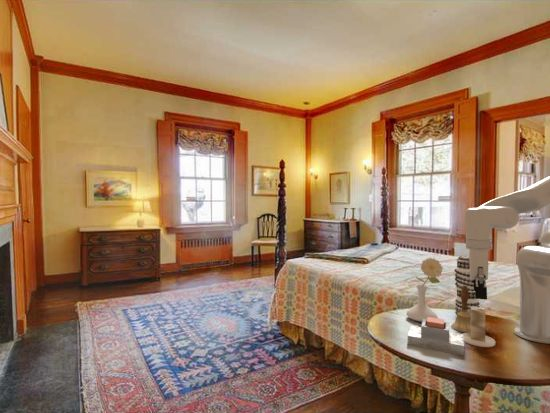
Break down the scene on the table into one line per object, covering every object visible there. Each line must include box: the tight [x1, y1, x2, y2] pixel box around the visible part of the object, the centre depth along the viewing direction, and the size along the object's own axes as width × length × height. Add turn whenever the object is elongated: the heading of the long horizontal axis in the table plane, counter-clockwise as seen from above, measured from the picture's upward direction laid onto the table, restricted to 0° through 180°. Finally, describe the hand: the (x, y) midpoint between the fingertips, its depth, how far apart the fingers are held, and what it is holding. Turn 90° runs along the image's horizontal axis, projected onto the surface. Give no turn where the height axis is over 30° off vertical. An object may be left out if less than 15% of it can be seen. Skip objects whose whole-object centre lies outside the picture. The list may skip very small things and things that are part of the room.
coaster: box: [461, 332, 496, 348], centre depth 110 cm, size 10×10×1 cm
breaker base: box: [407, 319, 465, 356], centre depth 107 cm, size 16×10×6 cm, turn 61°
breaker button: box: [427, 317, 445, 329], centre depth 107 cm, size 5×5×4 cm
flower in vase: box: [406, 257, 444, 323], centre depth 129 cm, size 13×11×25 cm
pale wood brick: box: [470, 306, 486, 342], centre depth 110 cm, size 4×4×10 cm
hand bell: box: [450, 286, 471, 333], centre depth 121 cm, size 8×8×16 cm
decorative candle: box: [454, 255, 481, 318], centre depth 132 cm, size 9×9×25 cm
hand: (480, 294), depth 110 cm, fingers open, 9 cm apart
